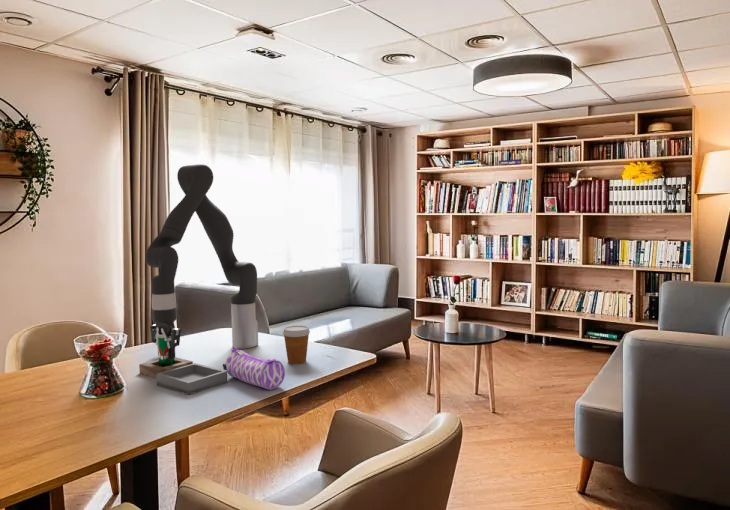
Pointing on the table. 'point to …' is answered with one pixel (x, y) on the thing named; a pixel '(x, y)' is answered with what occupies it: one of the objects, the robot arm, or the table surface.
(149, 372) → the square wooden frame
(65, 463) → the table surface
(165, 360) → the soda can
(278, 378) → the pencil case
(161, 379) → the tray
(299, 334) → the disposable coffee cup
